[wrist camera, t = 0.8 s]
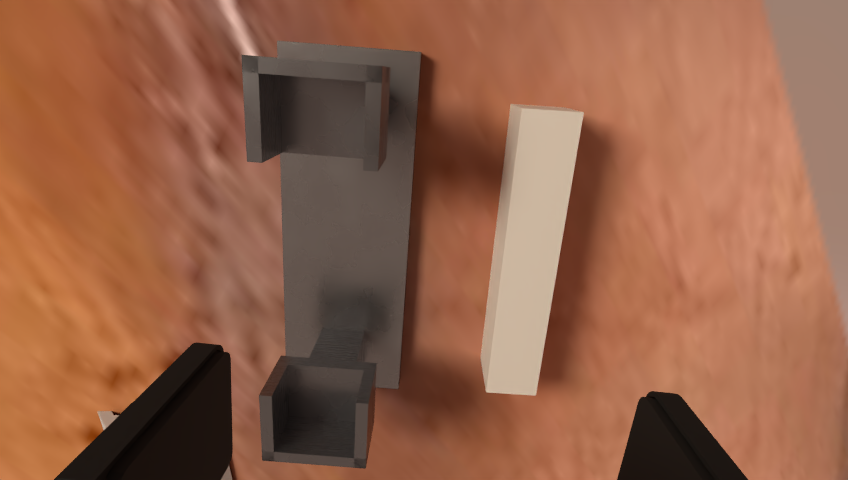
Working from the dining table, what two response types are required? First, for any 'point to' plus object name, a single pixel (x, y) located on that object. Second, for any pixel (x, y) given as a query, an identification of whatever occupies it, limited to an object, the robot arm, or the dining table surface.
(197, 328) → the dining table surface
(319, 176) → the bracket stand
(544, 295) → the rail
